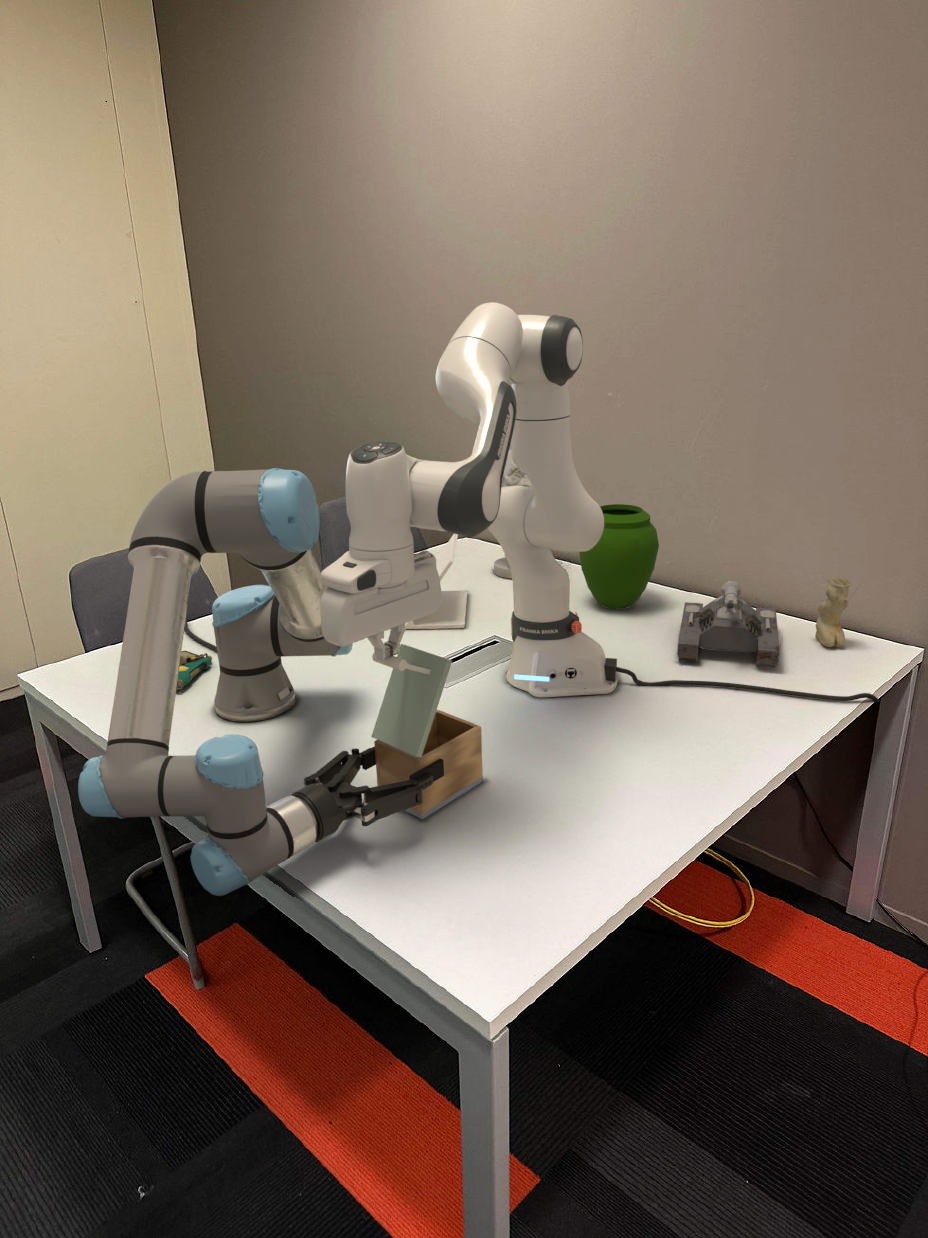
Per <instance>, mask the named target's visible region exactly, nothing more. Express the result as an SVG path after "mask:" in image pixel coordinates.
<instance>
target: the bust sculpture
mask: <svg viewBox="0 0 928 1238" xmlns="http://www.w3.org/2000/svg"><path fill="white" fill-rule="evenodd" d="M507 486H525V487H532V485H531V483H530V481H529V479H528V477H527V476H526V474H525V473H524V472H523V471H522V470H521V469H520V468H519V467H517V465H516V464H515V463H514V461H513V459H512V456H511V449H509V452H508V457H507V461H506V465H505V469H504V474H503V478H502V486H501V487H507ZM532 488H533V487H532ZM493 573H494V574H495V575H496V576H497V577H500V578H506V579H512V574H511V570H510V566H509V563H508V561H507V558H506V556H505V555H504V557H502V558H498V559H496V560H495V561H494V562H493Z"/></svg>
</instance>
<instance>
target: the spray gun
mask: <svg viewBox="0 0 928 1238" xmlns="http://www.w3.org/2000/svg"><path fill="white" fill-rule="evenodd" d="M212 660H213V657H212V656H211V655H208V653H207V652H205V653H201V654H197V653H194V652H192V651H191V652H190V651H188V650H181V658H180V665H179V673H178V680H177V688H176V690H182V689H184V687H185V686H186V685H188V684H189V683H190V682H191V681H192V679H193V678H195V677H196V676H197V675H198V674H200V673H201V672H202V671H203V670H206V669H208V668H209V667H210V666H211V665H212V662H213V661H212Z"/></svg>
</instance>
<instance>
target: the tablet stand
mask: <svg viewBox="0 0 928 1238" xmlns="http://www.w3.org/2000/svg"><path fill="white" fill-rule="evenodd" d="M458 537H459V535H458V534H454V533H452V535H451V537H450V539H449V540H448V542H447V543H446V544H445V546H444V548H443V549H442V551H441V552H440V554H439V555H438V556H437V558H436V569H437V571H438V574H439V579H440V582H441V581H442V580H443V578H444V577H445V575H446V574H447V573H448V571H449V570H450V569H451V567H452V566H453V564H454V562H455V558H456V553H457V545H458ZM441 594H442V604H441V606H440V609H439V610H438V611H436V612H434V613H431V614H428V615H426V616H423V617H420V618H418V619H415V620H413V621H410V622H407V623H405V630H426V629H427V630H429V629H430V630H431V629H435V630H436V629H437V630H438V629H464V628H465V627H466V618H467V617H466V616H467V605H468V591H467V590H441Z"/></svg>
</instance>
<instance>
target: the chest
mask: <svg viewBox="0 0 928 1238" xmlns="http://www.w3.org/2000/svg"><path fill="white" fill-rule="evenodd" d="M482 737H483V736H482V726H481V725H479V724H476V723H473V722H470V721H468V720H465V719H463V718H461V717H459V716H455V715H453V714H451V713H448V712H445V711H443V710H440V709H437V710H436V713H435V717H434V720H433V723H432V726H431V729H430V732H429V736H428V739H427V742H426V745H425V748H424V751H423V754H422V757H421V758H420V757H415V756H413V755H411V754H409V753H406V752H404V751H402V750H400V749H397V748H395V747H393V746H391V745H389V744H386V743H384V742H382V741H380V740H377V739H375V740H374V741H373V742H374V746H375V758H376V765H375V770H376V784H377V786H381V785H386V784H391V783H396V782H402V781H407V780H409V776H410V775H412V774H413V773H415V772H417V771H419V770H421V769H422V768H424V767H426V766H428V765H429V764H431V763H433V762H435V761H437V760H438V759H442V760H444V776H443V777H441V778H440V779H438V780H436V781H434V782H433V784H432V785H431V786H429V787H427V788H426V789H424V790H422V797H423V803H422V804H420V805H417V806H414V807H411V808H409V809H406V810H404V811H405V812H407V813H409V814H410V815H412V816H415V817H416V818H417V819H420V820H424V819H425V818H427V817H429V816H430V815H431V814H433V813H435V812H437V811H439V810H440V809H441V808H443V807H444V806H446V805H448V804H449V803H451V802H452V801H454V800H455V799H457V798H459V797H461V796H462V795H464V794H465V793H467V792H468V791H470V790H471V789H473V788H475V787H476V786H478V785H479V784H481V783H483V781H484V780H483V777H484V776H483V745H482V743H483V741H482V739H483V738H482Z"/></svg>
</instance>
